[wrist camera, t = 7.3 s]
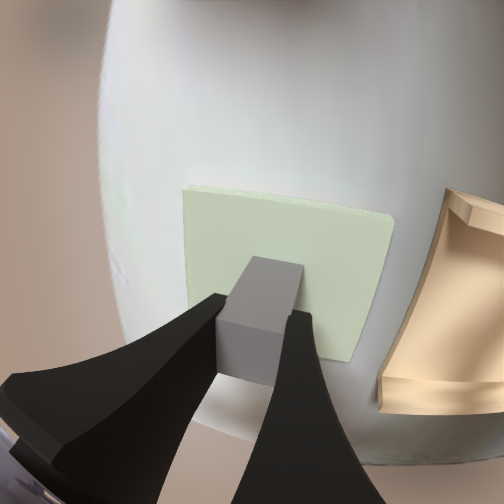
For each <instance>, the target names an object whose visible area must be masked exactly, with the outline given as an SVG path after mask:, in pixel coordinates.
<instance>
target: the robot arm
mask: <svg viewBox="0 0 504 504" xmlns="http://www.w3.org/2000/svg"><path fill="white" fill-rule="evenodd" d="M227 297H228V296H227V295H223V294H218V293H213V294H212V295H210V296H209V297H207V298H206V299H204V300H203V301H201V302H200V303H198V304H197V305H195V306H194V307H192V308H191V309H189V310H188V311H186V312H184V313H183V314H181V315H180V316H178V317H177V318H175V319H173V320H172V321H170V322H169V323H167V324H165V325H164V326H162V327H160V328H158V329H157V330H155V331H153V332H151V333H149V334H148V335H146V336H144V337H142V338H140V339H138V340H136V341H134V342H132V343H130V344H128V345H125V346H123V347H121V348H118V349H116V350H114V351H112V352H109V353H106V354H103V355H100V356H97V357H94V358H91V359H88V360H85V361H82V362H79V363H75V364H71V365H67V366H63V367H58V368H53V369H48V370H42V371H34V372H25V373H14V374H11V375H10V376H9V377H8V379H7V380H6V381H5V382H4V383H3V384H2V385H1V386H0V417H1V418H2V419H3V420H4V422H5V423H6V424H7V425H8V426H9V427H10V428H11V429H12V430H13V431H14V432H15V433H16V434H17V435H18V436H19V437H20V438H19V439H18V440H17V441H15V440H14V439H13V438H12V437H11V436H10V435H9V434H8V433H7V432H6V431H5V429H4V428H3V427H2V426H1V425H0V504H58V503H57V502H55V501H54V500H52V499H51V498H49V497H47V496H46V495H45V494H44V490H45V491H46V492H48V493H49V494H50V495H51V496H52V497H54V498H55V499H56V500H57V501H58V502H60V503H61V504H156V503H157V501H158V498H159V495H160V492H161V489H162V487H163V484H164V481H165V479H166V476H167V473H168V471H169V469H170V466H171V464H172V461H173V459H174V456H175V454H176V452H177V449H178V447H179V445H180V442H181V440H182V438H183V436H184V433H185V431H186V429H187V427H188V424H189V423H190V421H191V419H192V417H193V415H194V413H195V411H196V410H197V408H198V406H199V404H200V403H201V401H202V399H203V398H204V396H205V394H206V392H207V391H208V389H209V387H210V385H211V384H212V382H213V380H214V378H215V376H216V375H217V373H218V372H217V361H216V329H215V318H216V317H217V315H218V314H219V313H220V312H221V310H222V308H223V307H224V305H225V303H226V302H227V301H225V300H226V299H227ZM312 317H313V316H312V315H311V313H309V312H304V311H299V310H294V309H293V310H292V313H291V315H288V318H287V321H286V326H285V333H284V338H283V344H282V349H281V355H280V360H279V365H278V371H277V376H276V381H275V386H274V391H273V394H272V397H271V400H270V403H269V406H268V409H267V412H266V415H265V418H264V421H263V424H262V427H261V430H260V432H259V435H258V438H257V441H256V443H255V446H254V449H253V452H252V454H251V457H250V459H249V462H248V464H247V467H246V470H245V472H244V474H243V477H242V479H241V481H240V484H239V486H238V489H237V491H236V493H235V495H234V497H233V500H232V502H231V504H386V503H385V501H384V500H383V498H382V497H381V496H380V494H379V493H378V491H377V490H376V488H375V487H374V485H373V484H372V482H371V480H370V479H369V477H368V475H367V474H366V472H365V471H364V469H363V467H362V466H361V464H360V462H359V460H358V458H357V456H356V454H355V452H354V450H353V449H352V447H351V445H350V443H349V441H348V439H347V437H346V435H345V433H344V431H343V428H342V426H341V424H340V422H339V419H338V417H337V414H336V412H335V409H334V407H333V404H332V402H331V399H330V396H329V393H328V390H327V387H326V384H325V381H324V378H323V374H322V371H321V367H320V363H319V359H318V355H317V351H316V346H315V340H314V334H313V324H312Z"/></svg>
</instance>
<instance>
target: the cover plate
mask: <svg viewBox="0 0 504 504" xmlns="http://www.w3.org/2000/svg"><path fill="white" fill-rule="evenodd" d="M394 223H395V222H394V220H393V218H392V216H391V215H388V214H383V213H378V212H373V211H368V210H362V209H357V208H352V207H346V206H341V205H335V204H329V203H323V202H317V201H311V200H305V199H299V198H292V197H285V196H278V195H271V194H264V193H257V192H249V191H241V190H233V189H224V188H215V187H206V186H196V185H191V186H189V187H187V188H185V189H183V225H184V248H185V267H186V282H187V296H188V308H189V309H191V308H192V307H194V306H195V305H197V304H198V303H200V302H201V301H203V300H204V299H206V298H207V297H209V296H210V295H212V294H213V293H218V294H223V295H227V296H228V297H227V299H226V300H225V301H227V302H226V303H225V305H224V307H223V308H222V310H221V312H220V313H219V314H218V315H217V317H216V318H215V329H216V361H217V372H218V373H221V374H225V375H228V376H232V377H236V378H240V379H243V380H247V381H251V382H255V383H259V384H264V385H268V386H272V387H274V386H275V381H276V376H277V371H278V365H279V360H280V355H281V349H282V344H283V338H284V333H285V326H286V321H287V318H288V315H291V313H292V310H293V309H294V310H299V311H304V312H309V313H311V315H312V316H313V317H312V324H313V334H314V340H315V346H316V351H317V355H318V357H320V358H326V359H331V360H337V361H344V362H350V359H351V357H352V354H353V352H354V350H355V347H356V344H357V342H358V339H359V337H360V334H361V331H362V329H363V326H364V323H365V321H366V318H367V315H368V312H369V309H370V306H371V303H372V300H373V297H374V294H375V291H376V288H377V285H378V282H379V279H380V275H381V272H382V269H383V265H384V262H385V258H386V254H387V251H388V247H389V243H390V240H391V236H392V232H393V228H394Z"/></svg>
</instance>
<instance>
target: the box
mask: <svg viewBox="0 0 504 504" xmlns="http://www.w3.org/2000/svg"><path fill="white" fill-rule="evenodd" d="M377 379H378V412H382V413H395V414H414V415H465V414H483V413H495V412H504V206H503V205H500V204H497V203H494V202H491V201H488V200H485V199H482V198H479V197H476V196H473V195H470V194H467V193H463V192H460V191H457V190H453V189H450V188H446V191H445V196H444V200H443V204H442V208H441V212H440V216H439V220H438V224H437V227H436V231H435V234H434V238H433V241H432V245H431V248H430V251H429V254H428V257H427V260H426V263H425V266H424V269H423V272H422V275H421V278H420V281H419V283H418V286H417V289H416V291H415V294H414V296H413V299H412V302H411V304H410V306H409V309H408V311H407V314H406V316H405V318H404V321H403V323H402V325H401V328H400V330H399V332H398V334H397V336H396V339H395V341H394V343H393V345H392V347H391V349H390V351H389V353H388V355H387V357H386V359H385V361H384V363H383V365H382V367H381V369H380V371H379V373H378V374H377Z"/></svg>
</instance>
